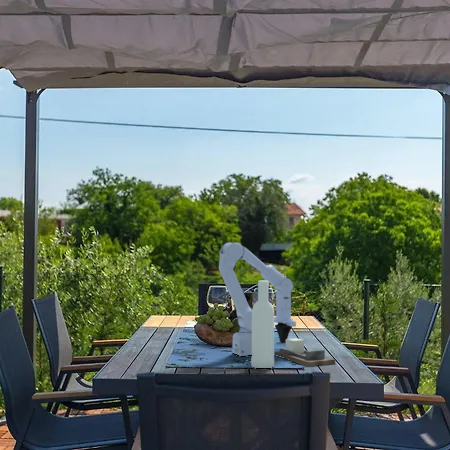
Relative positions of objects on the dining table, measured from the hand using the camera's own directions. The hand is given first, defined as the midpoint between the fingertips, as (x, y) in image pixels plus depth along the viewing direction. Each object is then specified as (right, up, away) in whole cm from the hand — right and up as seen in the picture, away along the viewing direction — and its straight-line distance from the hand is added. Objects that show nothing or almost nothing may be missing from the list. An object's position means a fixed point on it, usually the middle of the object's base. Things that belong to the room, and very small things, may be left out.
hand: (283, 342), depth 232 cm
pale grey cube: (+4, -2, -7) cm, 8 cm away
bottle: (-10, -3, -27) cm, 29 cm away
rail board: (+6, -4, -13) cm, 15 cm away
